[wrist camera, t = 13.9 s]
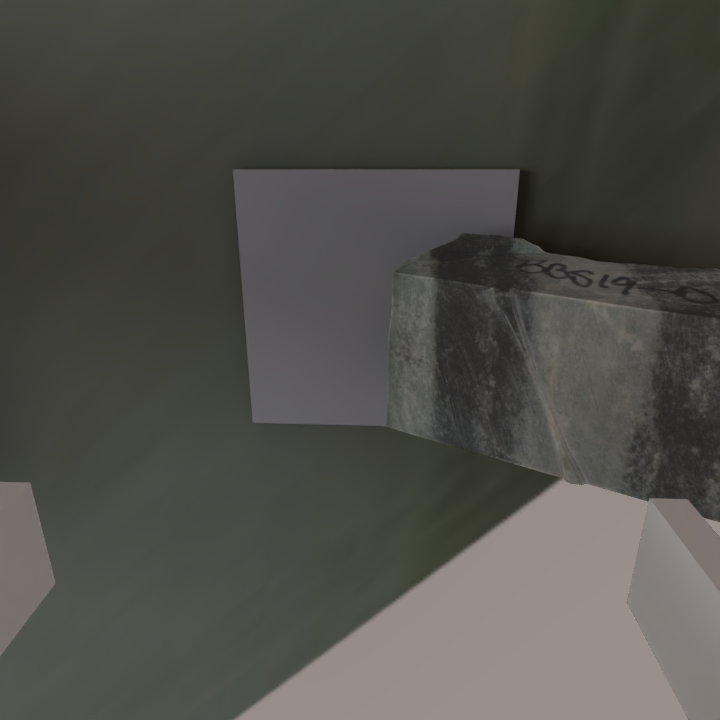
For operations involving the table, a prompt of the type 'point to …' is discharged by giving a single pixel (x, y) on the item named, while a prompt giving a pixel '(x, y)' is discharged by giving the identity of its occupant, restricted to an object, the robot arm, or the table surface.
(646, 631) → the robot arm
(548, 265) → the stone block
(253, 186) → the slate pad
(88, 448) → the table surface
